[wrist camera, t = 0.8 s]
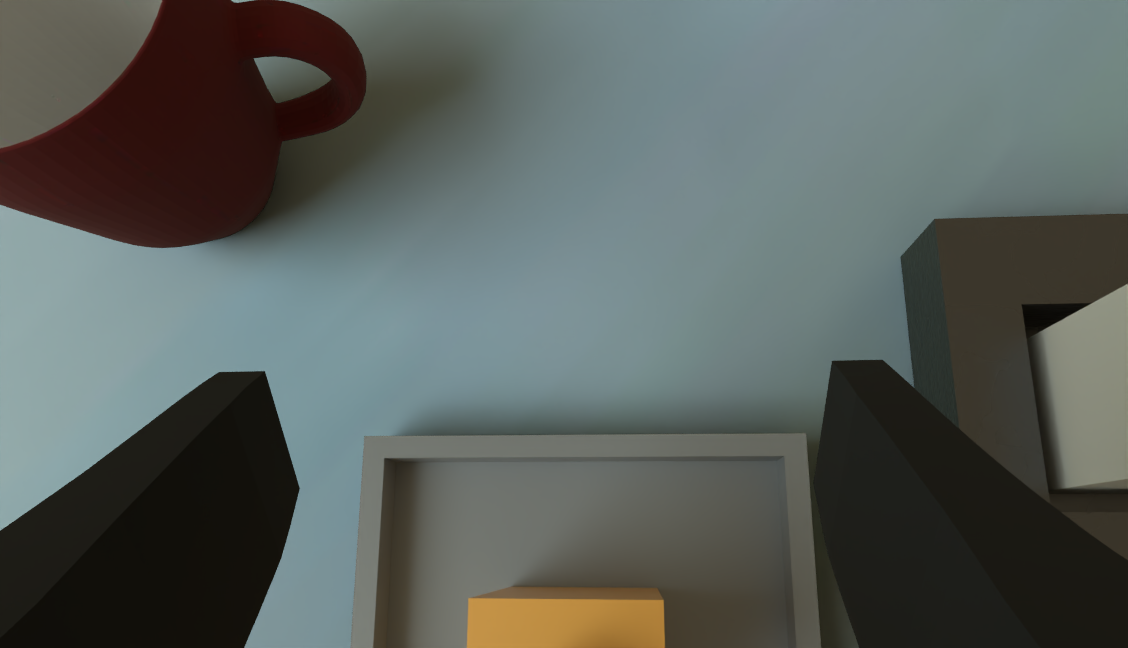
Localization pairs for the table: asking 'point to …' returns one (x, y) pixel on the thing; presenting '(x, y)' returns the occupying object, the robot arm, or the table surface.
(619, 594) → the plug
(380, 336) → the table surface
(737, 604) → the tray
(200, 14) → the mug
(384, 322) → the table surface
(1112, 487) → the twin plug
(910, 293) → the open box
